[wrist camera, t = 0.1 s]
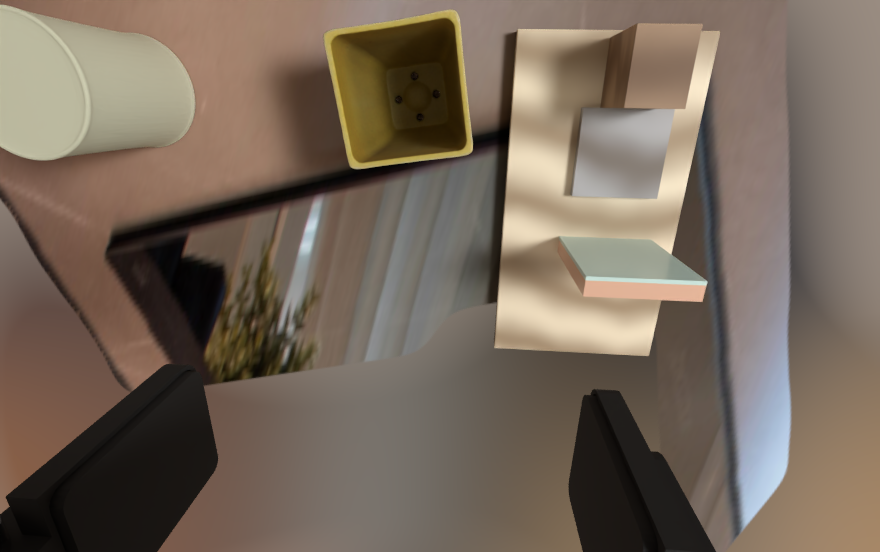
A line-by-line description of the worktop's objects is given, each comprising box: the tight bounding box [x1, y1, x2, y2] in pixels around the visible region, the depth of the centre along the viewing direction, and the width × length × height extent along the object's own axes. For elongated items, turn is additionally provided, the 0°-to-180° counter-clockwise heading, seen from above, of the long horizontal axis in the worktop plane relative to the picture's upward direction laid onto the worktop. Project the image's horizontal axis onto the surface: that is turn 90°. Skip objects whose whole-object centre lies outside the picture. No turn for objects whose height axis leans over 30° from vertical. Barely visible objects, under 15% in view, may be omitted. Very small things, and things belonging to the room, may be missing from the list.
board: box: [494, 29, 720, 356], centre depth 39 cm, size 28×15×1 cm, turn 178°
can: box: [0, 5, 195, 161], centre depth 33 cm, size 9×9×12 cm
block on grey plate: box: [570, 23, 703, 199], centre depth 33 cm, size 12×7×6 cm, turn 178°
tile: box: [557, 236, 707, 302], centre depth 34 cm, size 2×8×10 cm, turn 88°
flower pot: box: [323, 10, 473, 169], centre depth 33 cm, size 9×9×9 cm
